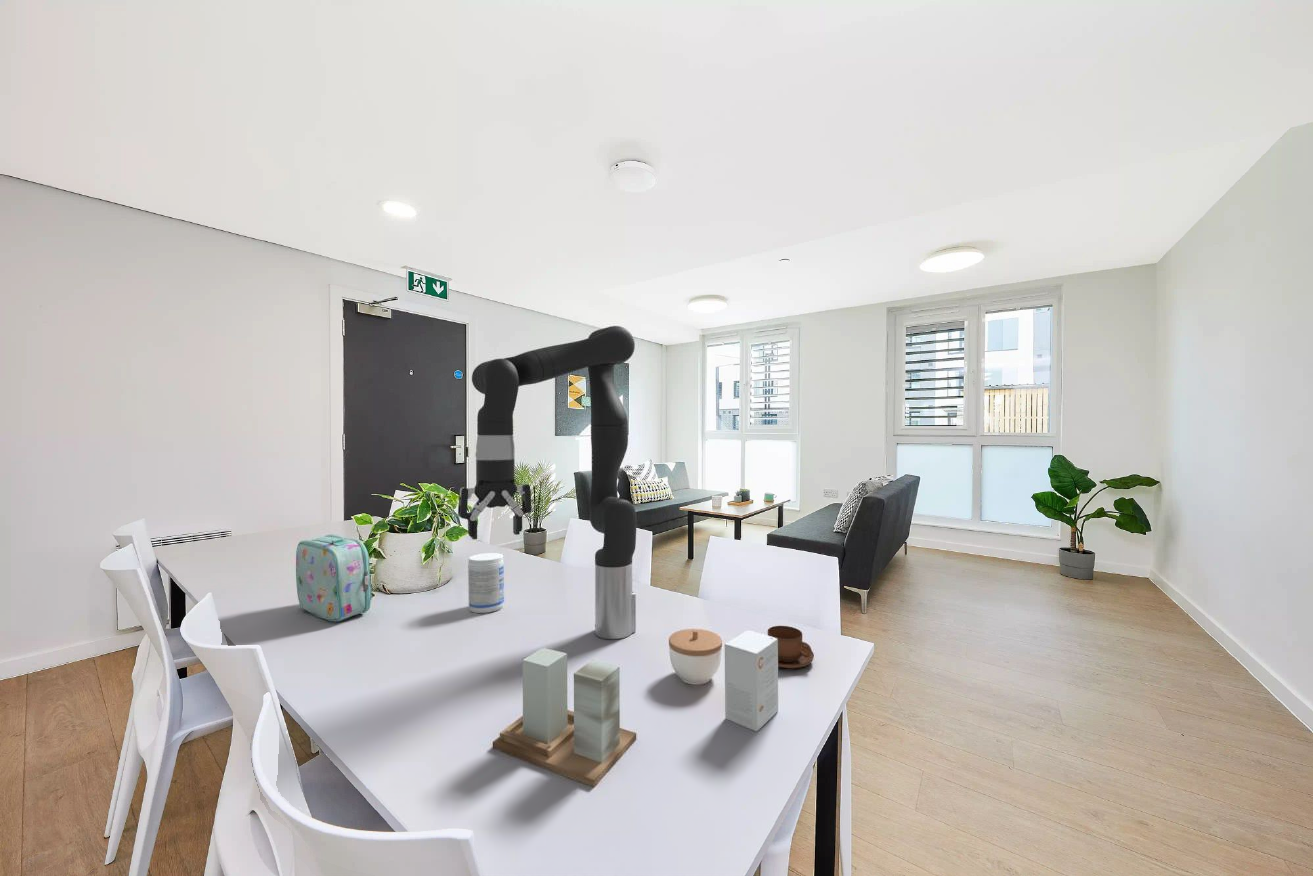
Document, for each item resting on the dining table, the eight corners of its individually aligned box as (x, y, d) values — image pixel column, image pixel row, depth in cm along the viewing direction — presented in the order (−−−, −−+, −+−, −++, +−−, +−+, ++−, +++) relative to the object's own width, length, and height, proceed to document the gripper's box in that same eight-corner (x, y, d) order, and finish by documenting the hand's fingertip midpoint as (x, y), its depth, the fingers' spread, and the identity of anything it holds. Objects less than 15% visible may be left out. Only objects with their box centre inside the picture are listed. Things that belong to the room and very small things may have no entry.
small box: (747, 699, 90) (747, 628, 90) (779, 711, 86) (779, 638, 86) (723, 718, 84) (723, 643, 84) (756, 733, 80) (756, 653, 80)
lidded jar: (726, 669, 102) (726, 624, 102) (715, 695, 92) (715, 645, 92) (677, 661, 106) (677, 618, 105) (661, 685, 95) (661, 637, 95)
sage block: (543, 718, 83) (543, 647, 83) (567, 726, 80) (567, 653, 80) (522, 734, 78) (522, 659, 78) (547, 743, 76) (547, 666, 76)
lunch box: (379, 616, 133) (378, 537, 133) (338, 628, 124) (337, 544, 124) (331, 598, 147) (330, 527, 147) (291, 609, 138) (290, 533, 138)
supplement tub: (508, 610, 137) (508, 557, 137) (473, 617, 132) (472, 562, 132) (498, 600, 145) (498, 550, 145) (464, 606, 140) (464, 555, 140)
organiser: (543, 709, 87) (542, 636, 87) (636, 739, 79) (636, 658, 78) (492, 748, 76) (492, 665, 76) (594, 787, 68) (593, 693, 68)
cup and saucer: (817, 654, 109) (817, 626, 109) (809, 678, 98) (809, 648, 98) (763, 644, 114) (763, 618, 114) (750, 667, 103) (750, 637, 103)
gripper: (462, 459, 93) (463, 544, 94) (535, 457, 101) (535, 535, 101) (454, 457, 100) (455, 537, 100) (523, 456, 108) (524, 529, 108)
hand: (495, 536), depth 101 cm, fingers open, 8 cm apart
